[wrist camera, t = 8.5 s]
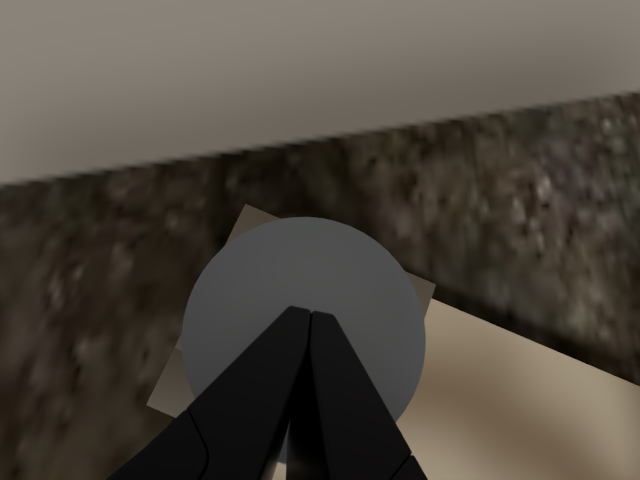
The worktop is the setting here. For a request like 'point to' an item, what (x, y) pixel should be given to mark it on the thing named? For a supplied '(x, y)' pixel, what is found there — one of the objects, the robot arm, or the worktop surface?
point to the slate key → (307, 302)
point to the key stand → (488, 402)
